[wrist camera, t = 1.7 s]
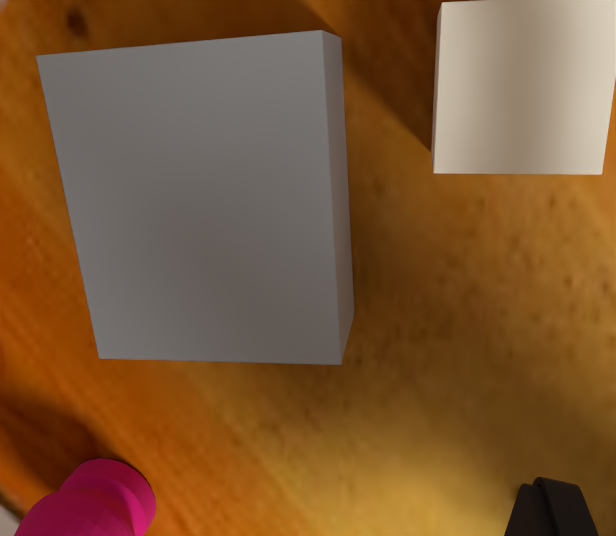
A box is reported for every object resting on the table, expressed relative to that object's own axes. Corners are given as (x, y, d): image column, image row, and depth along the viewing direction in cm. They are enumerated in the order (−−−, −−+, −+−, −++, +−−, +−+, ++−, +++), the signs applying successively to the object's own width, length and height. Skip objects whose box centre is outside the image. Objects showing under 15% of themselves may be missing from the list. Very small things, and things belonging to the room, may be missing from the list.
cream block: (580, 10, 24) (627, -7, 19) (563, 152, 26) (601, 174, 21) (437, 17, 25) (441, 2, 20) (431, 152, 27) (433, 173, 22)
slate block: (342, 38, 27) (321, 30, 21) (354, 311, 31) (341, 364, 26) (109, 58, 29) (35, 55, 23) (152, 310, 33) (99, 358, 28)
